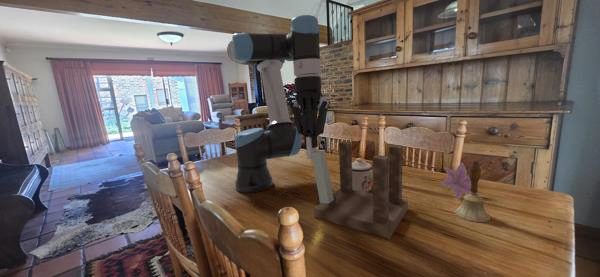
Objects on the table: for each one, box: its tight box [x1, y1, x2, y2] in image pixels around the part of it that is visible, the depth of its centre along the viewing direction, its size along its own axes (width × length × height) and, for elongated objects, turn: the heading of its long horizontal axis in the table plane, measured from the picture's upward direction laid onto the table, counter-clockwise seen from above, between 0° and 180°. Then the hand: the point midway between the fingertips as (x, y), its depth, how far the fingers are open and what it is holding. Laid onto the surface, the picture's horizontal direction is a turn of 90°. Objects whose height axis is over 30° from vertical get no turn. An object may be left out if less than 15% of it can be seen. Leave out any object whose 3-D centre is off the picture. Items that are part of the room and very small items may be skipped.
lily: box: [440, 162, 471, 200], centre depth 85 cm, size 12×12×10 cm
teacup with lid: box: [352, 157, 373, 193], centre depth 95 cm, size 12×9×12 cm
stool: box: [313, 140, 409, 240], centre depth 74 cm, size 22×18×20 cm
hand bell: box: [454, 159, 492, 223], centre depth 70 cm, size 8×8×16 cm
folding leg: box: [311, 149, 334, 204], centre depth 74 cm, size 3×3×15 cm
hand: (311, 158), depth 75 cm, fingers closed
